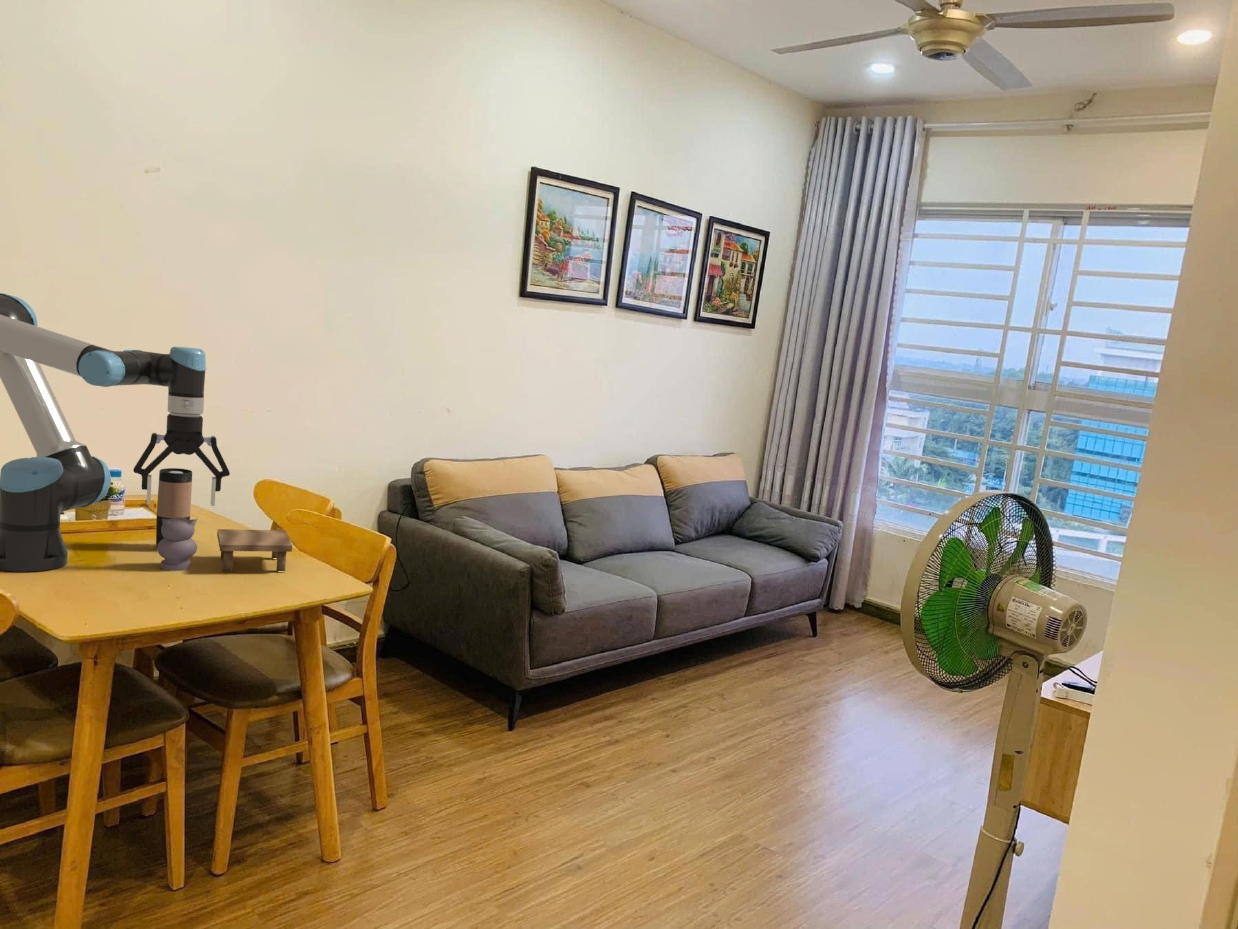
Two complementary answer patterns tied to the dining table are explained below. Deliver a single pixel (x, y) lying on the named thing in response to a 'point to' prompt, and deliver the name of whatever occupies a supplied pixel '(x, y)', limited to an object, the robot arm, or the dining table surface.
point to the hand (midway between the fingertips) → (180, 504)
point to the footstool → (253, 544)
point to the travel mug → (173, 496)
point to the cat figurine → (177, 543)
